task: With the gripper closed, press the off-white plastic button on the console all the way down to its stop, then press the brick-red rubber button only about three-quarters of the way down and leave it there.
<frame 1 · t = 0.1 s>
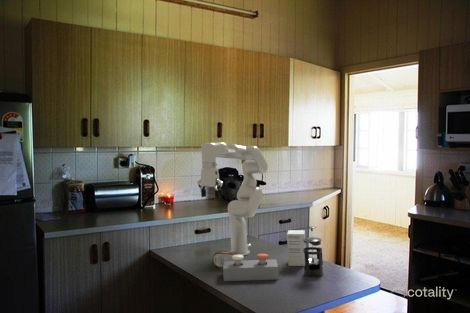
hand: (210, 197, 210), 37 cm above the counter, tool pointing down, fingers open, 9 cm apart
red button: (262, 260, 189), point 7 cm above the counter, slide at 0.0 cm
tin: (226, 267, 204), on the counter
supplement box: (297, 263, 206), on the counter
console: (250, 276, 189), on the counter
white button: (238, 261, 189), point 7 cm above the counter, slide at 0.0 cm
french press: (314, 274, 188), on the counter
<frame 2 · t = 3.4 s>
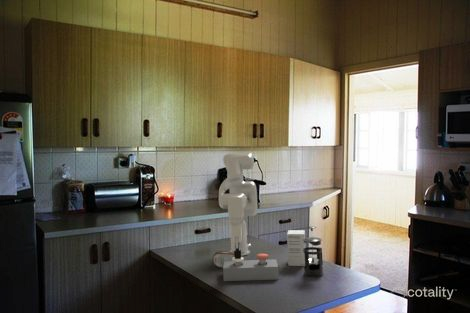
hand: (237, 258, 189), 9 cm above the counter, tool pointing down, fingers closed
white button: (238, 263, 189), point 6 cm above the counter, slide at 1.1 cm, touching gripper
everything else where it was.
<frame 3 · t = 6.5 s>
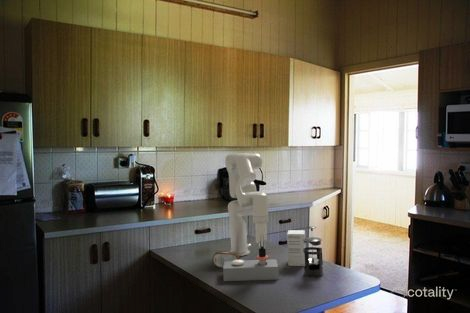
hand: (262, 256, 188), 9 cm above the counter, tool pointing down, fingers closed
red button: (262, 261, 189), point 7 cm above the counter, slide at 0.6 cm, touching gripper
white button: (238, 266, 189), point 5 cm above the counter, slide at 2.5 cm
everything else where it was.
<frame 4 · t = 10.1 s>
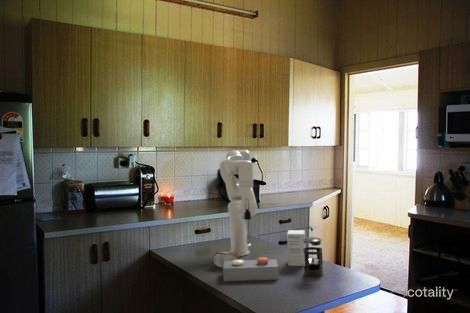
hand: (247, 219, 204), 25 cm above the counter, tool pointing down, fingers closed
red button: (262, 264, 189), point 6 cm above the counter, slide at 1.8 cm
everything else where it was.
at the end: white button slide at 2.5 cm; red button slide at 1.8 cm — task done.
